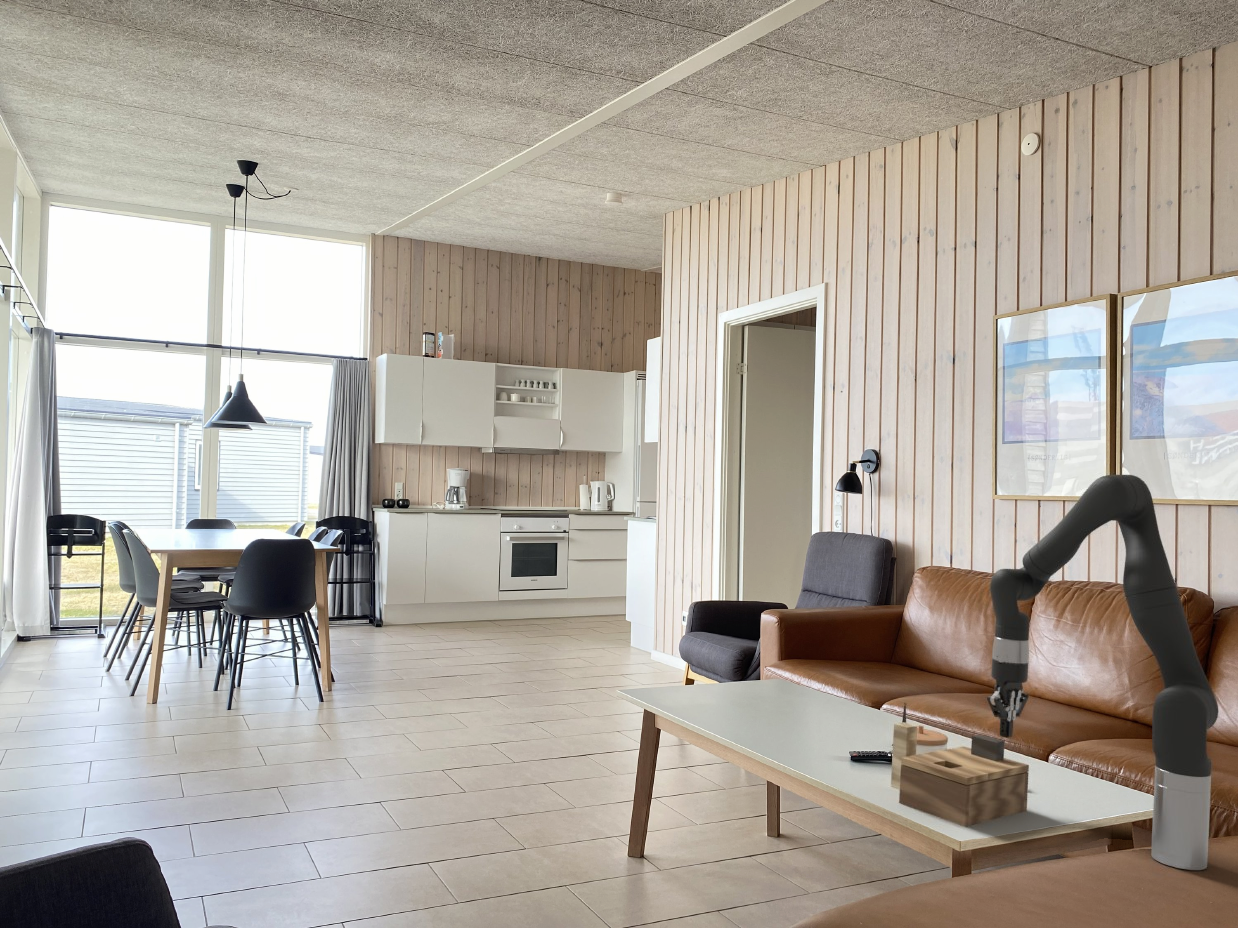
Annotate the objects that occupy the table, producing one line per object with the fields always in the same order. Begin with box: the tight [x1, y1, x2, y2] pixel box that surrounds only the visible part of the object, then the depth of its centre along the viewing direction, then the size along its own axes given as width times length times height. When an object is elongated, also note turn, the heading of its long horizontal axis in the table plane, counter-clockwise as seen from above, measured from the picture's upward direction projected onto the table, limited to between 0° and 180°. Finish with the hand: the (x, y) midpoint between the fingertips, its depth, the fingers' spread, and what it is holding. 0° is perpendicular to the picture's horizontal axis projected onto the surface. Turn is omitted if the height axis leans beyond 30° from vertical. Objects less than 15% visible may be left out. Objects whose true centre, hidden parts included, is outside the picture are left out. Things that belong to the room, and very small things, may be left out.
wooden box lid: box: [901, 734, 1030, 785], centre depth 210 cm, size 22×16×5 cm
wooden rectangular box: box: [898, 765, 1029, 827], centre depth 209 cm, size 22×16×9 cm
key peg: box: [890, 722, 918, 790], centre depth 221 cm, size 4×4×15 cm
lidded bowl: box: [892, 724, 949, 755], centre depth 239 cm, size 13×13×11 cm
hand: (1005, 736), depth 219 cm, fingers closed
